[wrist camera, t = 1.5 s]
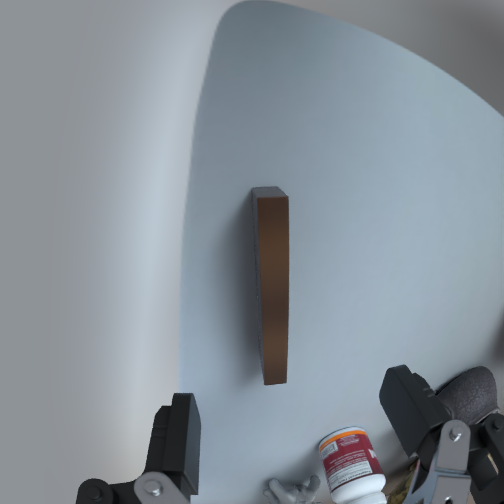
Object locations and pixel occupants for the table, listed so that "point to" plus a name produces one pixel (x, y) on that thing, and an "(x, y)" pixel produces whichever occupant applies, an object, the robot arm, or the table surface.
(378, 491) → the pill bottle
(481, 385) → the teapot
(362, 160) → the table surface
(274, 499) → the gray elephant figurine
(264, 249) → the stick
